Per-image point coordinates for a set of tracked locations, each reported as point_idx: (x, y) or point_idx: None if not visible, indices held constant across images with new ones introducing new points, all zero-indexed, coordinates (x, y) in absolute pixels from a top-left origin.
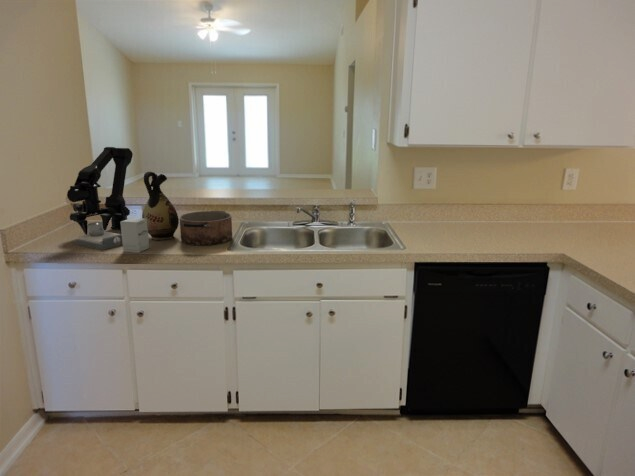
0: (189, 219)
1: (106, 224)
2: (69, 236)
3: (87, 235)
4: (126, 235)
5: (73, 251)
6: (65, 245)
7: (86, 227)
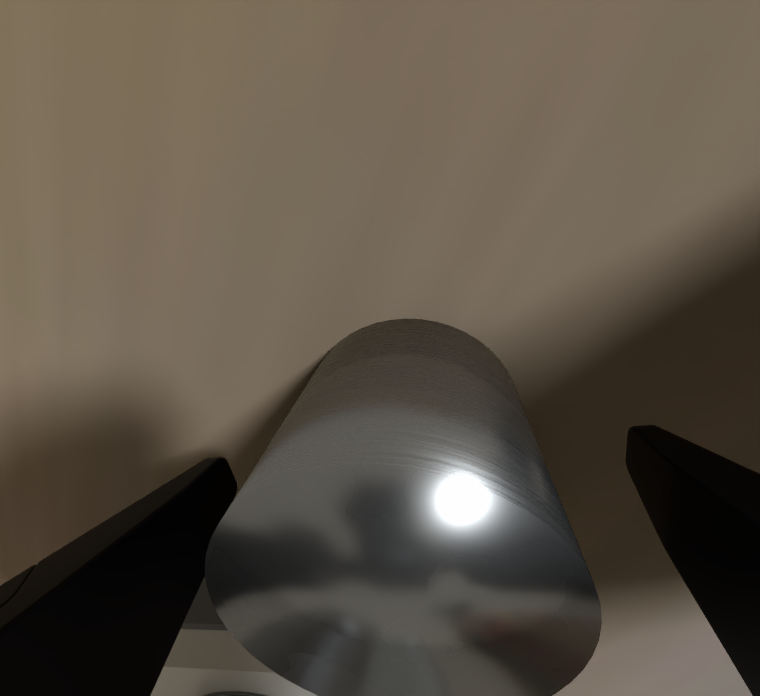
0: None
1: (737, 666)
2: (20, 79)
3: (166, 687)
4: None
5: None
6: (6, 525)
7: (128, 690)
